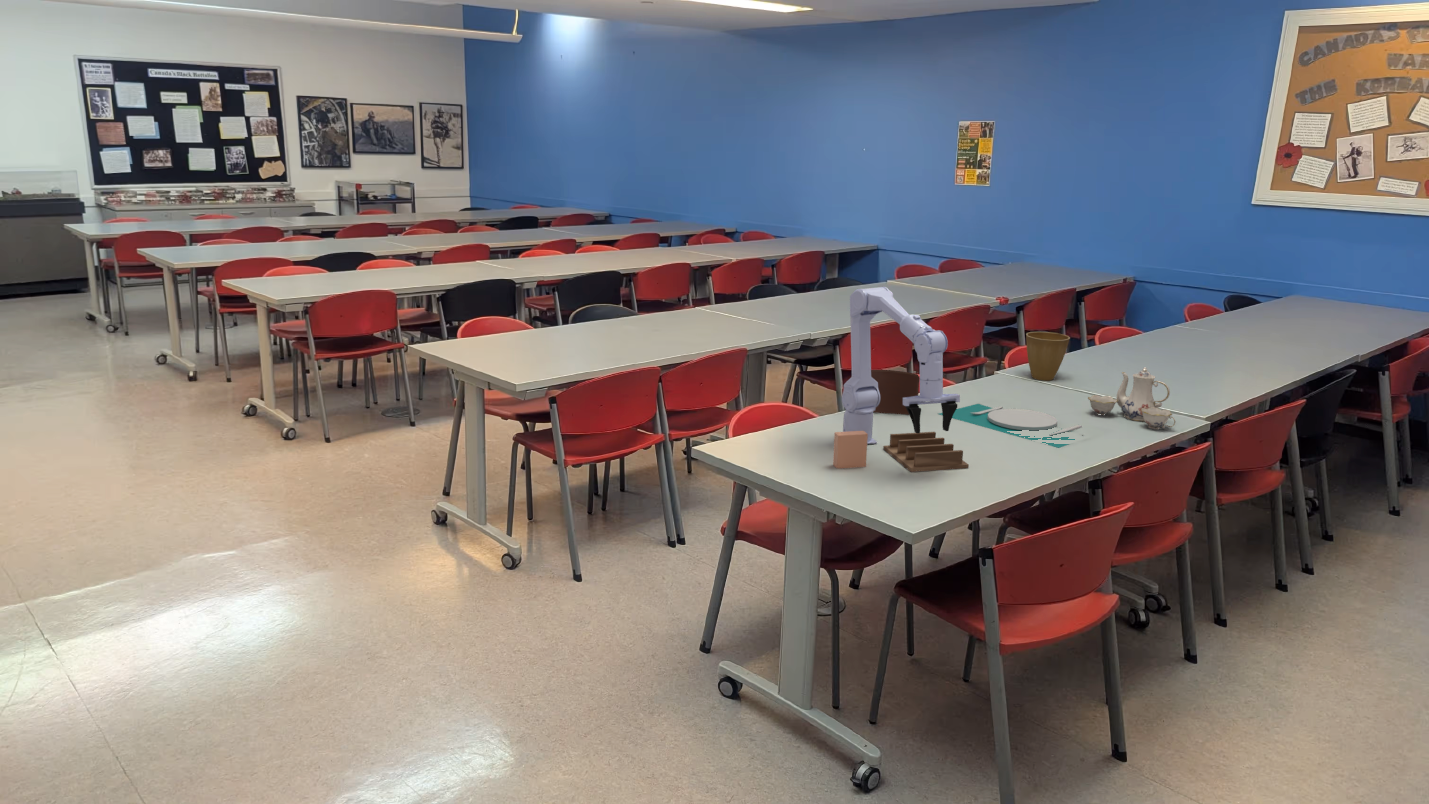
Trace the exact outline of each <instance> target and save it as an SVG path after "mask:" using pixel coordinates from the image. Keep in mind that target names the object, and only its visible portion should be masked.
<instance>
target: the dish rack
mask: <svg viewBox="0 0 1429 804" xmlns="http://www.w3.org/2000/svg"><path fill="white" fill-rule="evenodd" d="M889 435H890V436H889V445H883V446H882V447H883V448H882V449H883V450H884V451H885V452H886V453H887V454H889V455H890V456H891V457H892V458H894V459H895V460H896V461H897V462H898V463H899V464H900V465H902V466H903V467H904V468H905V469H906V470H908V471H909V472H911V473H914V472H917V473H918V472H929V471H931V472H933V471H944V470H960V469H961V470H962V469H969V468H970V467H969V466H970V465H969V464H968V463H967V462H966V461H964V460H963V459H964V458H963V456H964V455H963V454H964V450H962V449H958V450H954V445H955V444H953V443H945V441H946V440H945V438H944V437H936V435H937V432H936V431H922V432H921V431H920V433H915V432H905V433H902V432H901V433H890V434H889Z"/></svg>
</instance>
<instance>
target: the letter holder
mask: <svg viewBox="0 0 1429 804" xmlns="http://www.w3.org/2000/svg"><path fill="white" fill-rule="evenodd" d="M871 377H872V378H873V379H874V380H875V381H877V382H878V389H879V393H880V403H879V405H878V406H877V407H876V410H875V411H873V414H884V415H885V414H886V415H887V414H888V415H890V414H891V415H901V416H902V415H903V416H910V415H909V413H908V411H907V409H906V406H904V405H903V398H904V397H912V396H919V394H920V375H919V374H917V373H913V372H908V371H903V370H902V371H901V370H892V369H871Z"/></svg>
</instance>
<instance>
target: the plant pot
mask: <svg viewBox="0 0 1429 804" xmlns="http://www.w3.org/2000/svg"><path fill="white" fill-rule="evenodd" d="M1025 335H1026V336H1025V338H1026V340H1025V341H1026V352H1027V360H1028V366H1029V370H1030V374H1031V377H1032V378H1033V379H1035V380H1036V381H1037V380H1038V381H1044V382H1045V381H1049V382H1050V381H1053V380H1054V379H1055V378H1056V376H1057V373H1058V371H1059V369H1060V366H1061V365H1062V364H1063V363H1062V362H1063V361H1064V360H1063V359H1064V358H1065V355H1066V352H1067V349H1068V345H1069V342H1070V339H1071V337H1070V336H1069V335H1066V334H1061V333H1058V332H1051V331H1050V332H1048V331H1030V332H1026V333H1025Z"/></svg>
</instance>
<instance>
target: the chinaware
mask: <svg viewBox="0 0 1429 804" xmlns="http://www.w3.org/2000/svg"><path fill="white" fill-rule="evenodd" d="M1121 374H1122V376H1123V380H1122V382H1121V384H1120V386H1119V387H1118V390H1117V393H1116V398H1115V399H1114V397H1113V396H1109V395H1105V396H1100V395H1098V394H1094V395H1091V396H1088V397H1087V399H1088V401H1089V403H1090V407H1091V409H1092V410H1093V411H1094V412H1095V413H1097V414H1101V415H1104V414H1106V415H1107V414H1108V413H1110V412H1111V411H1112V410H1113V409H1114V407H1115V405H1116V404H1117V405H1118V406H1119V408H1120V409H1121V412H1122V413H1123V414H1124V415H1123V417H1124V416H1125V417H1126V418H1125V417H1124V418H1125V419H1127V418H1128V419H1127V420H1130V419H1131V421H1136V422H1145V424H1147V425H1148V428H1149V429H1151V430H1160V429H1165V428H1166V427H1169V428H1172V427H1174V426H1175V425H1176V419H1175V417H1174V416H1173V413H1172V412H1171V410H1169V409H1160V408H1162V405H1163V403H1162V402H1165V401H1167V400H1168V399H1169V397H1170V394H1171V391H1170V387H1169V385H1168V384H1167V383H1165V381H1161V380H1155V379H1156V375H1153V374H1151V373H1150V371H1148V368H1147V367H1145V366H1144V367H1143V369H1142V370H1141V371H1139V372H1137V373H1133V374H1132V377H1133V384H1132V389H1131V392H1130V394H1129V396H1128V395H1127V394H1126V393H1127V388H1128V384H1129V375H1128V374H1127V372H1126V371H1122V372H1121ZM1159 384H1161V385H1163V386H1164V387H1165V388H1166V390H1167V393H1166V396H1165V397H1164V398H1163V399H1161V400H1154V396H1153V395H1154V394H1153V387H1155V388H1156V387H1158V386H1159ZM1169 419H1173V422H1174V423H1173V424H1172V425H1169V424H1166V423H1167V422H1168V421H1169Z"/></svg>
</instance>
